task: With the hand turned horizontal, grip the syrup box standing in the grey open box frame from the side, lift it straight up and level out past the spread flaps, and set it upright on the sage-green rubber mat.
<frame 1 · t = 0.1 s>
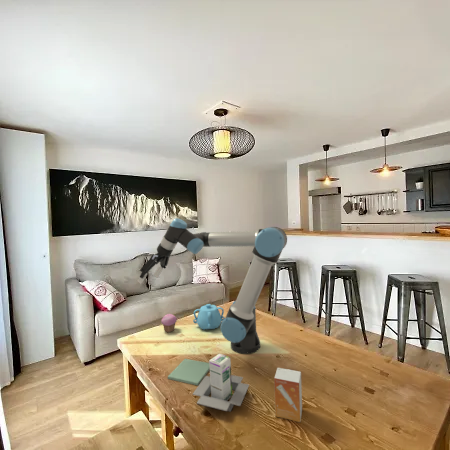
hand: (147, 279, 131), 36 cm above the table, tool tilted 35°, fingers open, 13 cm apart
grey open box frame: (221, 397, 92), on the table
small box: (289, 413, 83), on the table
cupcake: (169, 331, 150), on the table
mat: (190, 372, 108), on the table
decorative pot: (209, 326, 155), on the table
syrup box: (221, 397, 92), resting in grey open box frame
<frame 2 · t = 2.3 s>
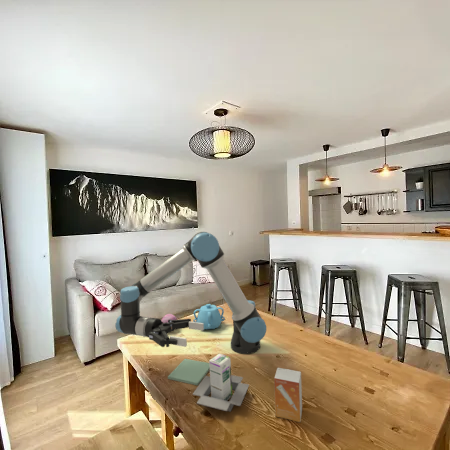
hand: (195, 334, 95), 22 cm above the table, tool horizontal, fingers open, 13 cm apart
nothing on the table moved.
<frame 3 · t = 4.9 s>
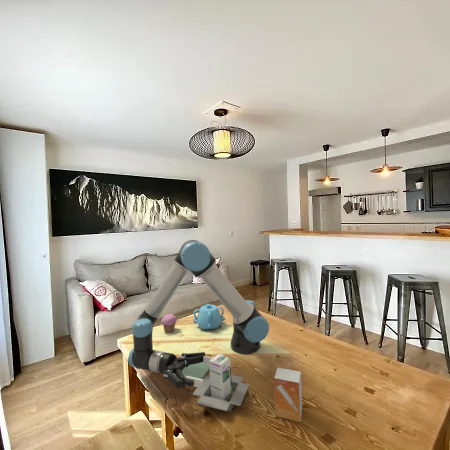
hand: (211, 372, 93), 9 cm above the table, tool horizontal, fingers open, 13 cm apart
nothing on the table moved.
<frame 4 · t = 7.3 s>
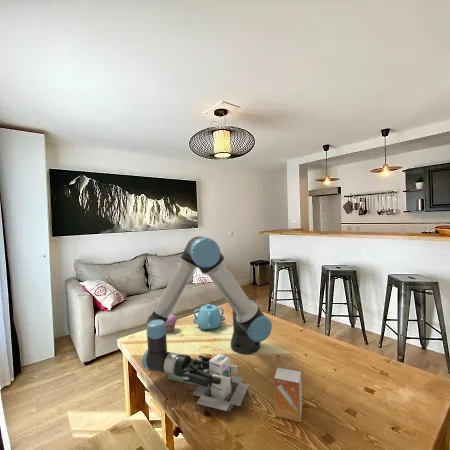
hand: (233, 375, 90), 9 cm above the table, tool horizontal, fingers closed on syrup box, 7 cm apart
syrup box: (221, 397, 92), resting in grey open box frame, touching gripper
everything else where it was.
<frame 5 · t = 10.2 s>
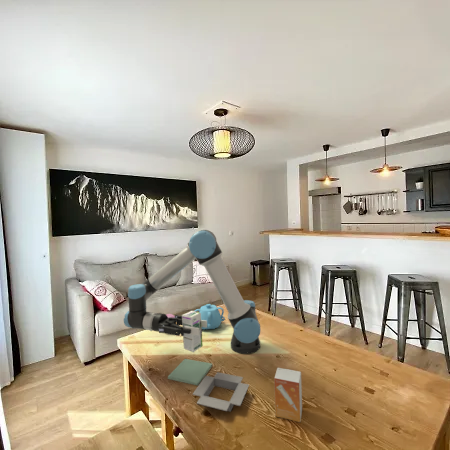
hand: (202, 327, 103), 21 cm above the table, tool horizontal, fingers closed on syrup box, 7 cm apart
syrup box: (193, 348, 105), point 12 cm above the table, touching gripper
everything else where it was.
when the fingers open (11 cm above the table, at t = 13.0 s): syrup box drops 1 cm, resting on mat.
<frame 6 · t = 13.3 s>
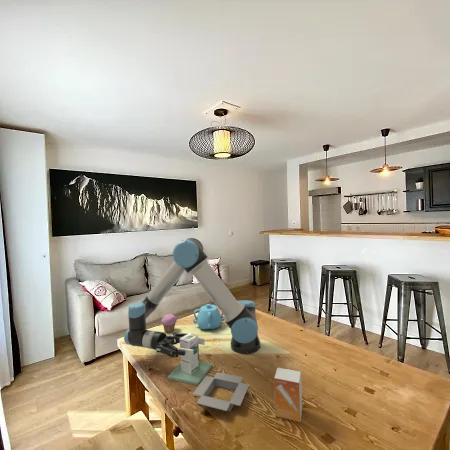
hand: (198, 347, 106), 11 cm above the table, tool horizontal, fingers open, 9 cm apart
syrup box: (190, 370, 108), point 1 cm above the table, touching mat
everything else where it was.
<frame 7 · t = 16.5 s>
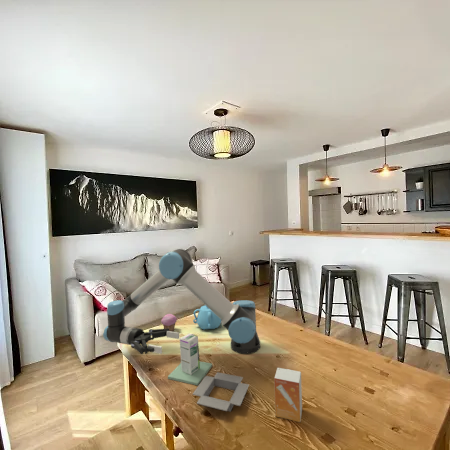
hand: (170, 342, 111), 12 cm above the table, tool horizontal, fingers open, 13 cm apart
nothing on the table moved.
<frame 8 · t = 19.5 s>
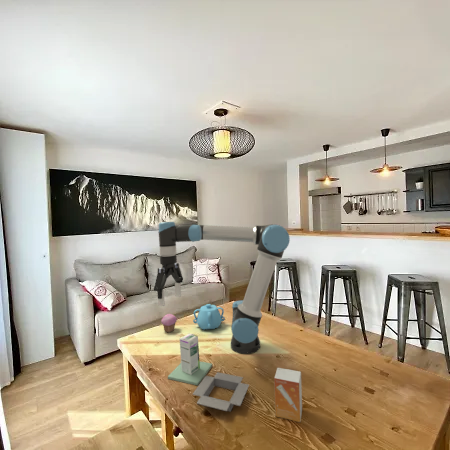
hand: (170, 300, 116), 29 cm above the table, tool pointing down, fingers open, 13 cm apart
nothing on the table moved.
at the end: syrup box inside the target area on the mat (0.1 cm from its centre), point 0.8 cm above the mat's base; syrup box tilted 0°; the gripper is holding nothing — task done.
